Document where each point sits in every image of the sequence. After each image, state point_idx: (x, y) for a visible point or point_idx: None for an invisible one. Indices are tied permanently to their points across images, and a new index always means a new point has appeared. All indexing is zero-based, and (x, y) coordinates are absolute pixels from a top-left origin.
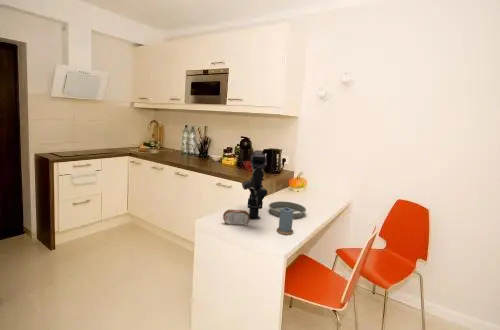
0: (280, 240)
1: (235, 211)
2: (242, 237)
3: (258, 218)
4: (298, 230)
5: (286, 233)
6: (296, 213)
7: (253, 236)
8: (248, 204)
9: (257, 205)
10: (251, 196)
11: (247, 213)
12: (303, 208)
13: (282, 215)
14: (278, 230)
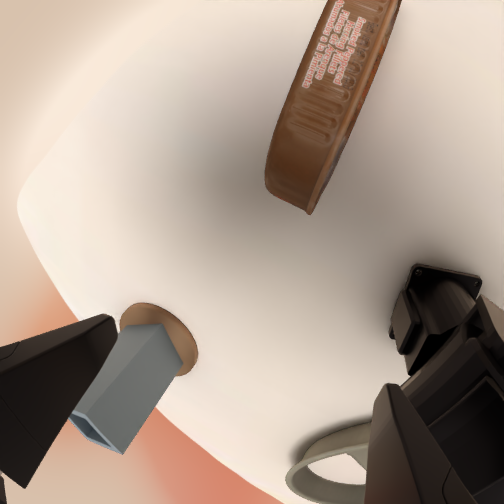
0: (77, 259)
1: (328, 25)
2: (116, 73)
3: (391, 324)
4: (171, 391)
5: (121, 324)
6: (286, 475)
7: (115, 141)
8: (483, 321)
9: (105, 314)
10: (407, 443)
11: (286, 184)
12: (340, 501)
13: (94, 383)
14: (152, 316)
